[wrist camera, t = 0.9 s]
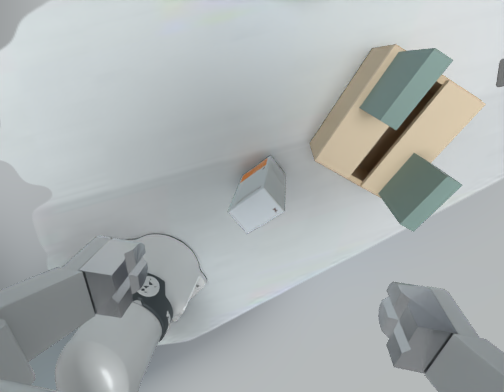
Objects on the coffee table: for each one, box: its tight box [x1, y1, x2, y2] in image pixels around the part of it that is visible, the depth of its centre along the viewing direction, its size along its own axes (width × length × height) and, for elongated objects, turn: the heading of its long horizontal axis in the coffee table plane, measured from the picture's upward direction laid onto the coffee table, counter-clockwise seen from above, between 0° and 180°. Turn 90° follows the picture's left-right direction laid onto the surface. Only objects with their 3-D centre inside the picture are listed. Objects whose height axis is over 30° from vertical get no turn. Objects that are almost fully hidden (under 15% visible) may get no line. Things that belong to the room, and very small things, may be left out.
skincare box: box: [228, 156, 286, 234], centre depth 37 cm, size 6×4×12 cm
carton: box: [310, 44, 482, 197], centre depth 33 cm, size 14×11×8 cm
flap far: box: [360, 80, 486, 231], centre depth 27 cm, size 14×5×8 cm, turn 152°
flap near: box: [315, 45, 453, 179], centre depth 26 cm, size 14×5×8 cm, turn 152°
